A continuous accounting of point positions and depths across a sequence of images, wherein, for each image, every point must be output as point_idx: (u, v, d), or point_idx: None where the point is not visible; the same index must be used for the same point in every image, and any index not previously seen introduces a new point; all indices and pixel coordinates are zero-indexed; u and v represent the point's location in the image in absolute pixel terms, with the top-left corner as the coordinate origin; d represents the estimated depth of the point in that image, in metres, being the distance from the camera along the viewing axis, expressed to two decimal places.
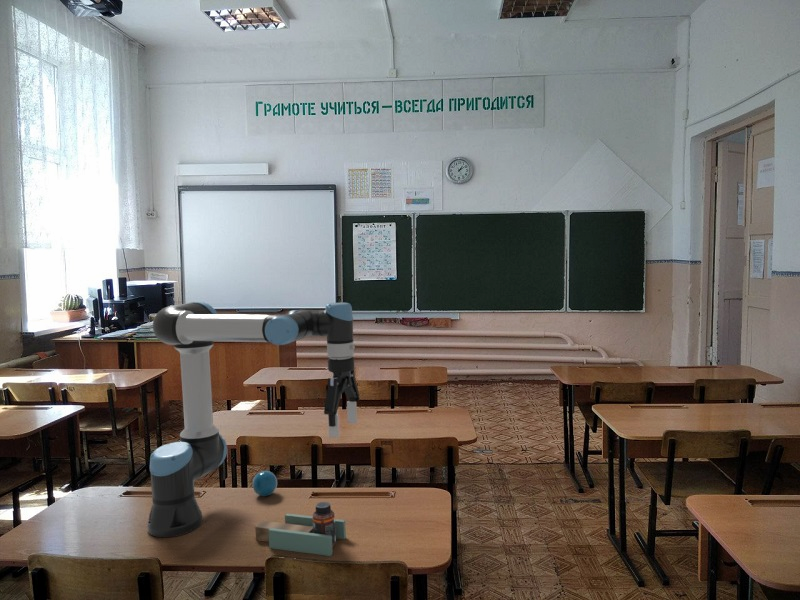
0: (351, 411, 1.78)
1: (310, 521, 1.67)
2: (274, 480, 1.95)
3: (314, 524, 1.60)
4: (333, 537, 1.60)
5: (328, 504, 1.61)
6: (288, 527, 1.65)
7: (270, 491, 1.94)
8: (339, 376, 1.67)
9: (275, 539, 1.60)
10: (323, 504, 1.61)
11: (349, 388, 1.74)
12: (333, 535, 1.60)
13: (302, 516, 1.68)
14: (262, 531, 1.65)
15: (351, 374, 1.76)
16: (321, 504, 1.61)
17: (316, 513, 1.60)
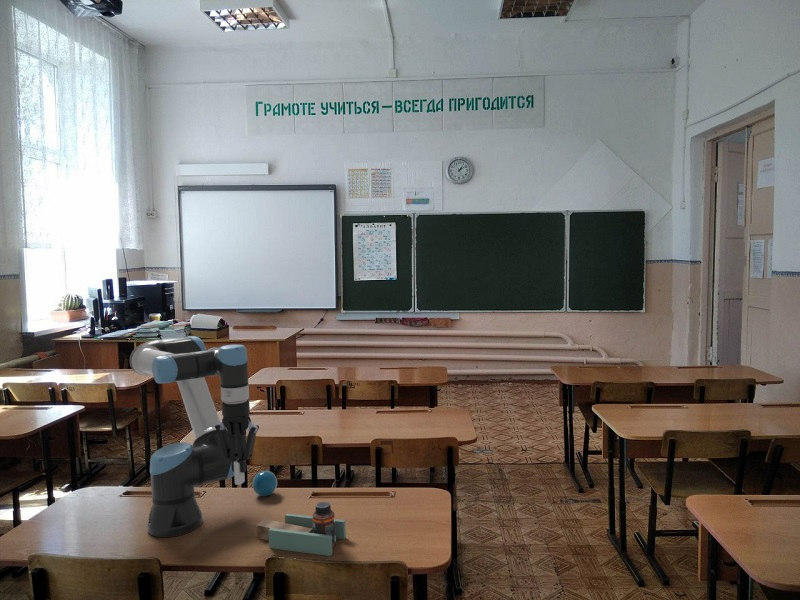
0: None
1: (310, 521, 1.67)
2: (274, 480, 1.95)
3: (314, 524, 1.60)
4: (333, 537, 1.60)
5: (328, 504, 1.61)
6: (288, 528, 1.64)
7: (270, 491, 1.94)
8: None
9: (275, 539, 1.60)
10: (323, 504, 1.61)
11: None
12: (333, 535, 1.60)
13: (302, 516, 1.68)
14: (263, 530, 1.66)
15: (250, 429, 1.65)
16: (321, 504, 1.61)
17: (316, 513, 1.60)
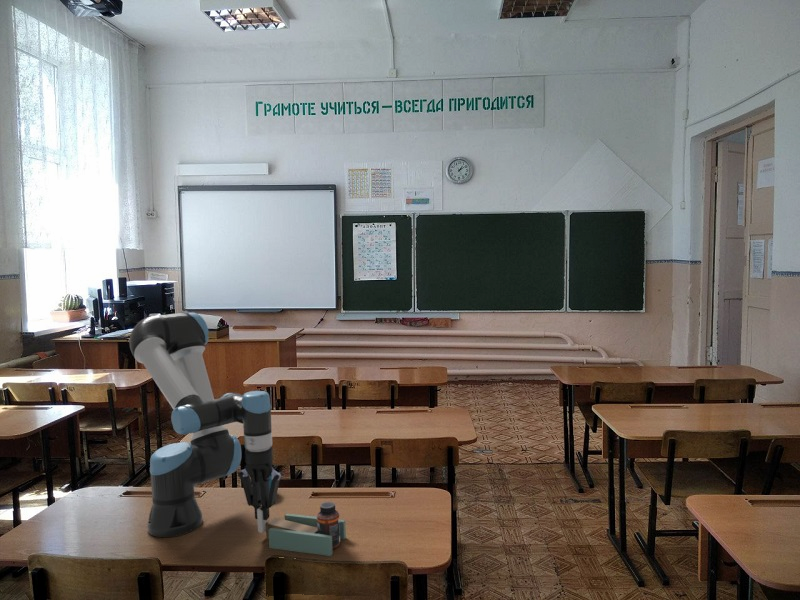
0: None
1: (310, 521, 1.67)
2: None
3: (318, 524, 1.59)
4: (337, 538, 1.60)
5: (333, 504, 1.61)
6: (296, 527, 1.64)
7: None
8: (245, 466, 1.66)
9: (275, 539, 1.60)
10: (328, 504, 1.61)
11: None
12: (337, 536, 1.60)
13: (302, 516, 1.68)
14: None
15: (273, 477, 1.64)
16: (326, 504, 1.61)
17: (321, 513, 1.60)
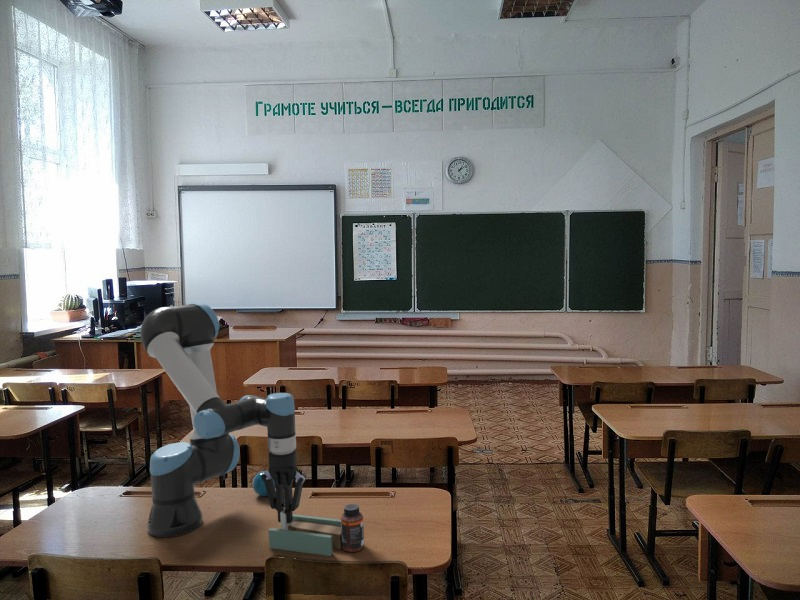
0: None
1: (310, 521, 1.67)
2: None
3: (341, 525, 1.59)
4: (359, 541, 1.58)
5: (356, 507, 1.58)
6: (321, 528, 1.63)
7: None
8: (268, 469, 1.64)
9: (275, 539, 1.60)
10: (352, 506, 1.59)
11: None
12: (359, 539, 1.58)
13: (302, 516, 1.68)
14: None
15: (297, 480, 1.62)
16: (350, 506, 1.59)
17: (344, 514, 1.59)
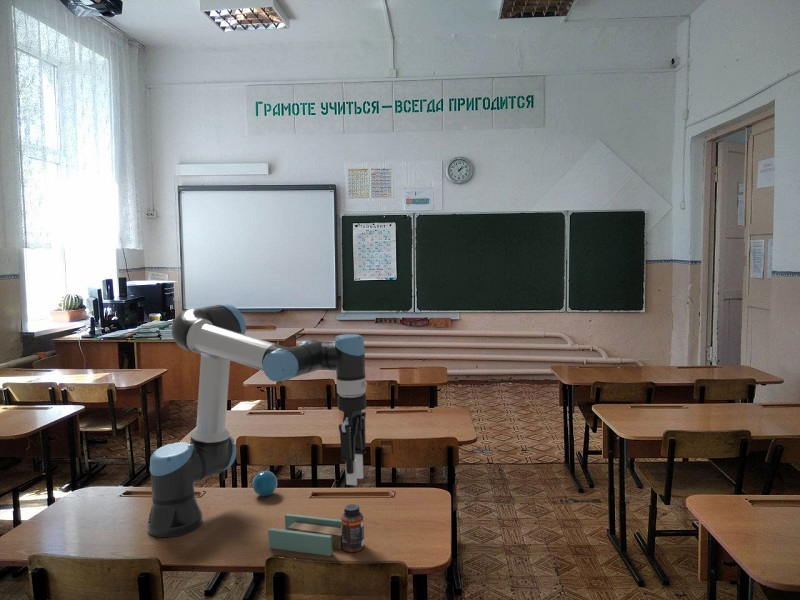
0: (357, 465, 1.59)
1: (310, 521, 1.67)
2: (274, 480, 1.95)
3: (341, 525, 1.59)
4: (359, 541, 1.58)
5: (356, 507, 1.58)
6: (321, 529, 1.63)
7: (270, 491, 1.94)
8: (350, 418, 1.52)
9: (275, 539, 1.60)
10: (352, 506, 1.59)
11: (358, 431, 1.58)
12: (359, 539, 1.57)
13: (302, 516, 1.68)
14: None
15: (362, 416, 1.61)
16: (350, 506, 1.59)
17: (344, 514, 1.59)
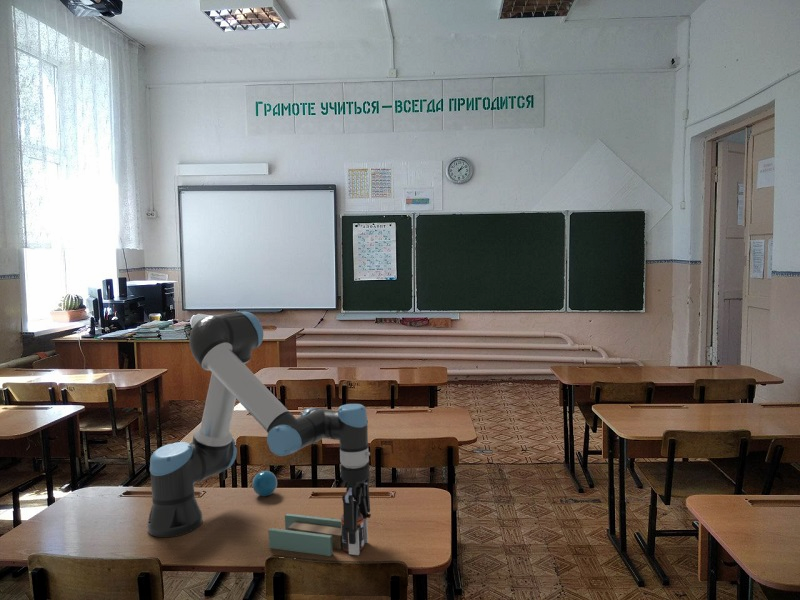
0: None
1: (310, 521, 1.67)
2: (274, 480, 1.95)
3: (341, 525, 1.58)
4: (359, 542, 1.57)
5: None
6: (321, 529, 1.63)
7: (270, 491, 1.94)
8: (353, 488, 1.54)
9: (275, 539, 1.60)
10: None
11: (362, 499, 1.60)
12: (359, 540, 1.57)
13: (302, 516, 1.68)
14: None
15: (365, 482, 1.63)
16: None
17: None
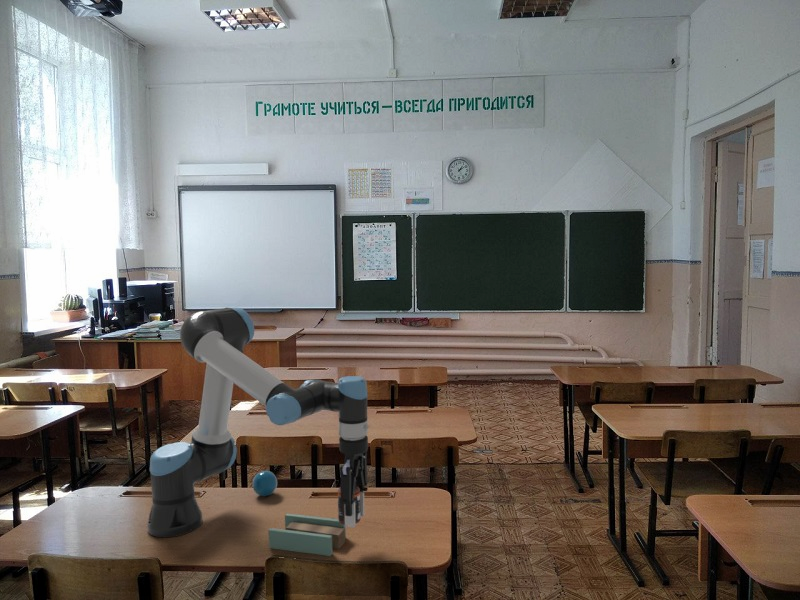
0: None
1: (310, 521, 1.67)
2: (274, 480, 1.95)
3: (338, 498, 1.58)
4: (355, 515, 1.57)
5: None
6: (319, 529, 1.63)
7: (270, 491, 1.94)
8: (351, 460, 1.53)
9: (275, 539, 1.60)
10: None
11: (359, 472, 1.59)
12: (355, 513, 1.57)
13: (302, 516, 1.68)
14: None
15: (363, 455, 1.62)
16: None
17: None
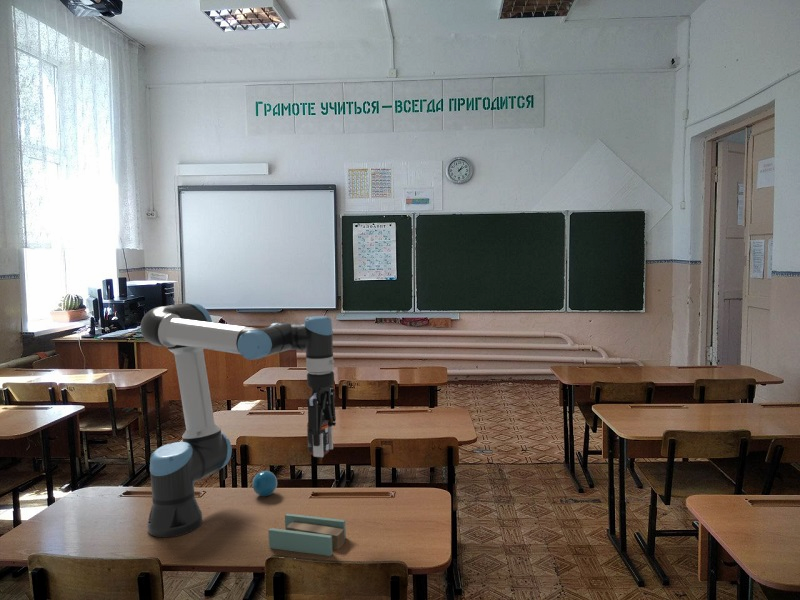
0: None
1: (310, 521, 1.67)
2: (274, 480, 1.95)
3: (307, 431, 1.68)
4: (323, 446, 1.67)
5: None
6: (318, 529, 1.63)
7: (270, 491, 1.94)
8: (318, 393, 1.63)
9: (275, 539, 1.60)
10: None
11: (327, 406, 1.69)
12: (324, 444, 1.67)
13: (302, 516, 1.68)
14: None
15: (331, 392, 1.72)
16: None
17: None
